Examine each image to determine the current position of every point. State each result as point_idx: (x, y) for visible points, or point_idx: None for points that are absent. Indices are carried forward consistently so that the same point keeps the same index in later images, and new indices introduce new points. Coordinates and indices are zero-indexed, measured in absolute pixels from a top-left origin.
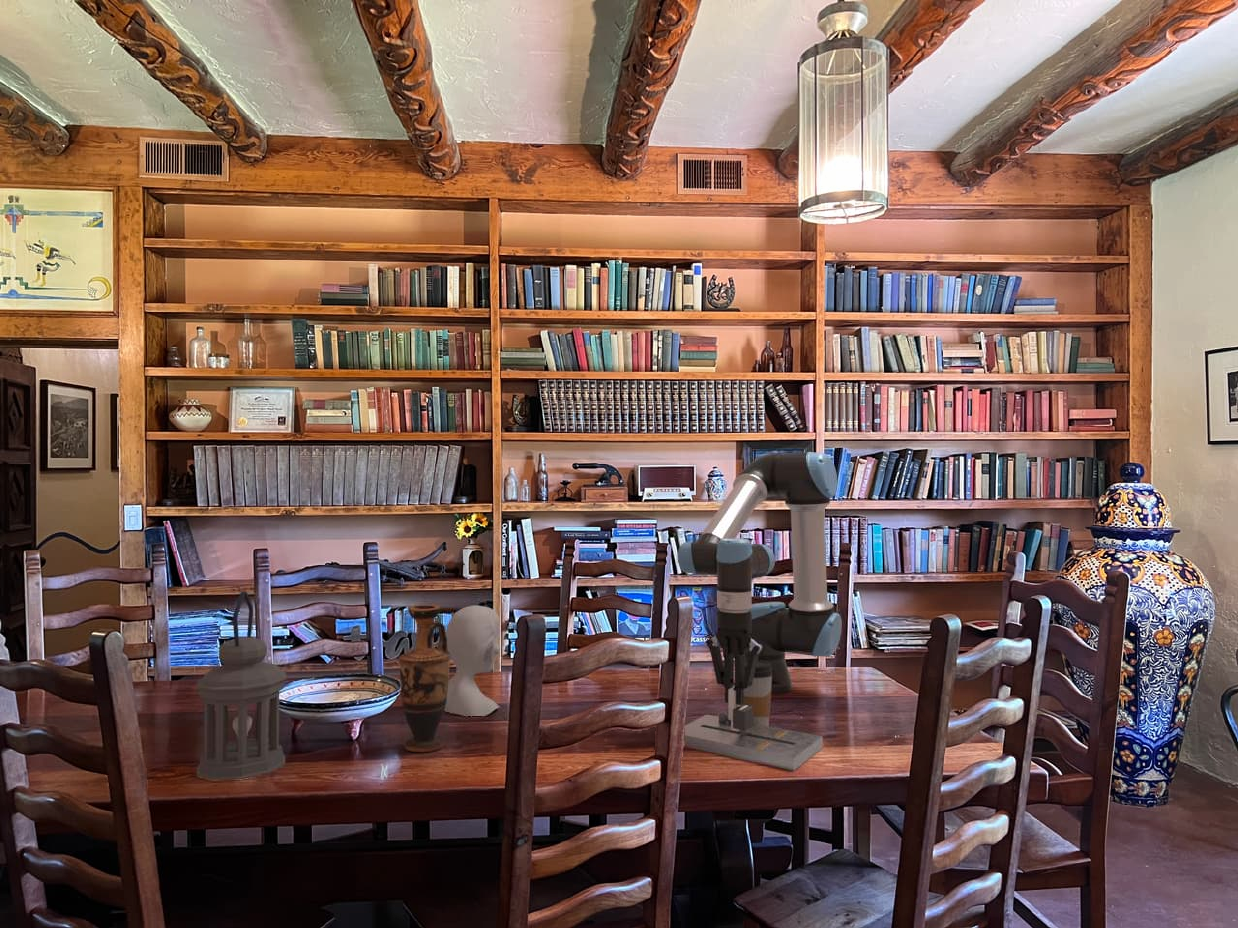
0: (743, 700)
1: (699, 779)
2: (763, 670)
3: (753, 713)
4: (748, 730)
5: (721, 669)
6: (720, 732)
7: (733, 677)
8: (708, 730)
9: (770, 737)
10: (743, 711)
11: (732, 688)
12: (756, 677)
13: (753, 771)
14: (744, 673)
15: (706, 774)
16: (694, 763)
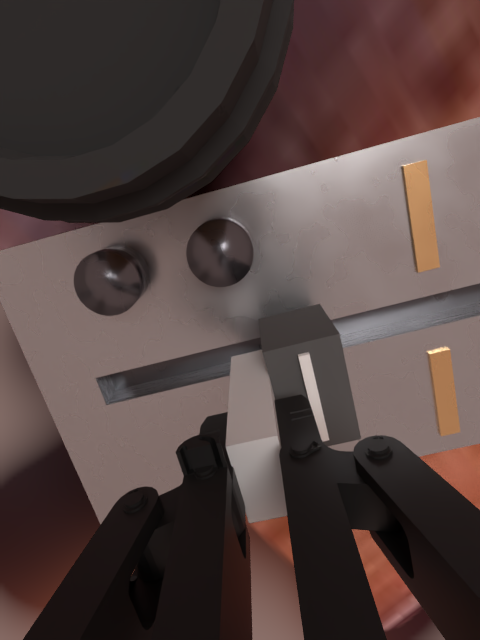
0: (309, 403)
1: (382, 617)
2: (264, 33)
3: (331, 321)
4: (281, 292)
5: (126, 635)
6: (218, 399)
7: (227, 512)
8: (169, 417)
9: (411, 296)
10: (352, 440)
11: (252, 488)
12: (230, 156)
13: (465, 485)
14: (349, 523)
15: (373, 585)
16: (291, 555)
